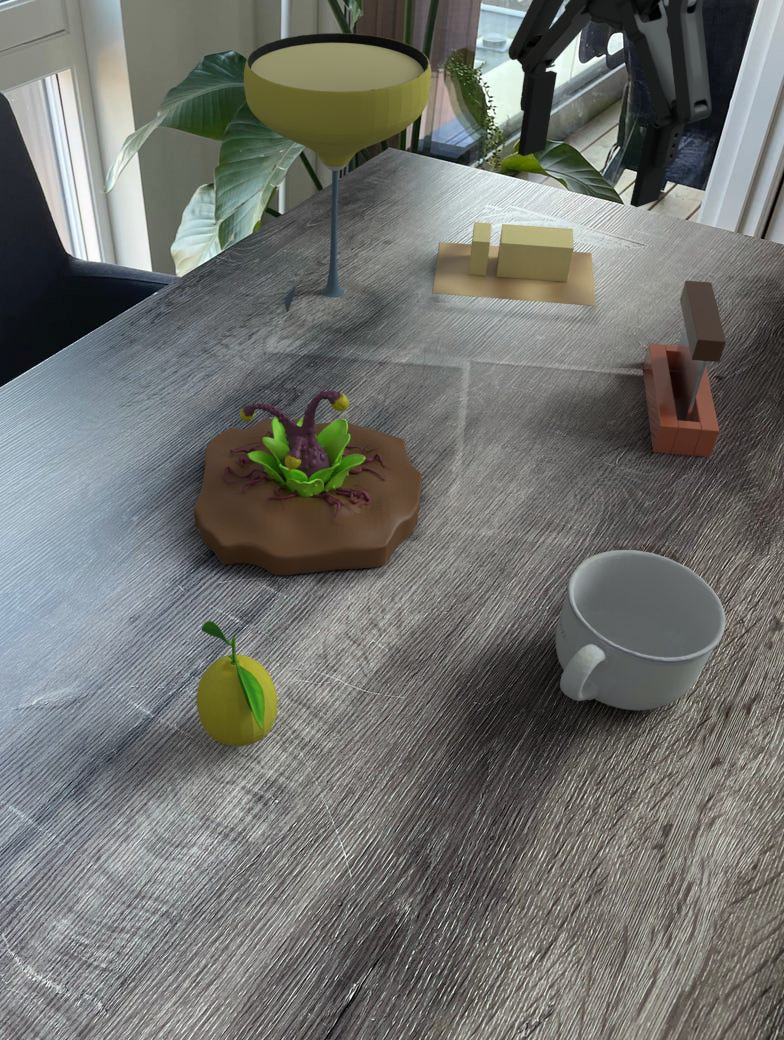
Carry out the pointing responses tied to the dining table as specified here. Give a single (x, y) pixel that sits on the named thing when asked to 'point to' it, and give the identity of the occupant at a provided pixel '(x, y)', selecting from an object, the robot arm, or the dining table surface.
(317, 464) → the plant
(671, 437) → the knife stand
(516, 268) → the butter
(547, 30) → the robot arm
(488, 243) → the butter slice
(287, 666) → the dining table surface
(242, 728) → the lemon
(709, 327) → the knife
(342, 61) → the cocktail glass
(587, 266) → the board
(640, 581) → the teacup
